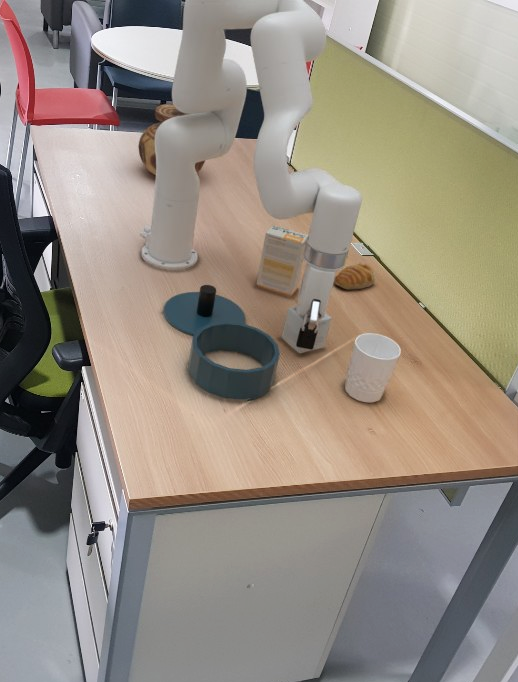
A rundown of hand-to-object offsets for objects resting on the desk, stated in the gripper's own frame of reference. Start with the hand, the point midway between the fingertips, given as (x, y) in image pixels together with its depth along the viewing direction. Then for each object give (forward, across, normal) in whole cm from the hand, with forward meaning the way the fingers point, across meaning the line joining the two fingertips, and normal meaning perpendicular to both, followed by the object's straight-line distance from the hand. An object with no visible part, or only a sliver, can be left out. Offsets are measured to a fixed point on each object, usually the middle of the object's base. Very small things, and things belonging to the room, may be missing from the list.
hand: (305, 334), depth 143 cm
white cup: (+3, +12, +11) cm, 17 cm away
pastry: (+3, -29, +11) cm, 31 cm away
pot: (+2, +14, -13) cm, 19 cm away
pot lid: (+2, -3, -20) cm, 20 cm away
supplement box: (+3, -20, -6) cm, 22 cm away
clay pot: (+3, -74, -40) cm, 84 cm away
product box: (+3, 0, 0) cm, 3 cm away
